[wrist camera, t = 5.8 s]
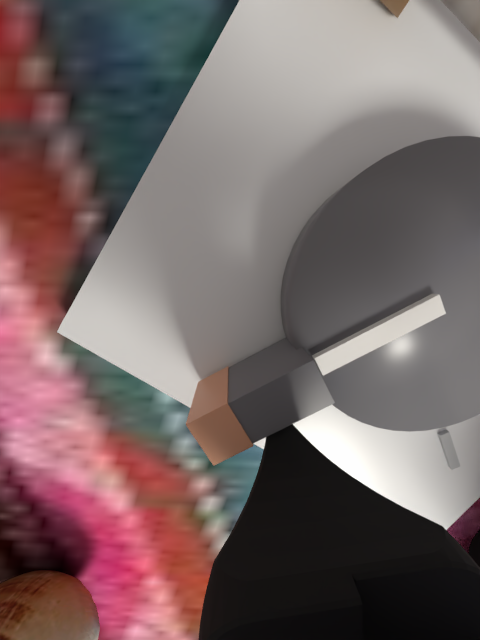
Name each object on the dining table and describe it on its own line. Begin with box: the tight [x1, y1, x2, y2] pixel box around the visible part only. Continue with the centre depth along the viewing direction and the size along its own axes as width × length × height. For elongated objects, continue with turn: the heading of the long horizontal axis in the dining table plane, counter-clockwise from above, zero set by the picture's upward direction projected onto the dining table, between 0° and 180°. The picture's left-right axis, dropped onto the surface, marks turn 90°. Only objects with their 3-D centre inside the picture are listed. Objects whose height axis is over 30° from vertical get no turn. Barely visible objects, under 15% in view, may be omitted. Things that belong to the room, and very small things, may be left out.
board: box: [57, 0, 480, 530], centre depth 11 cm, size 20×24×1 cm
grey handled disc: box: [186, 136, 480, 465], centre depth 9 cm, size 16×11×3 cm
